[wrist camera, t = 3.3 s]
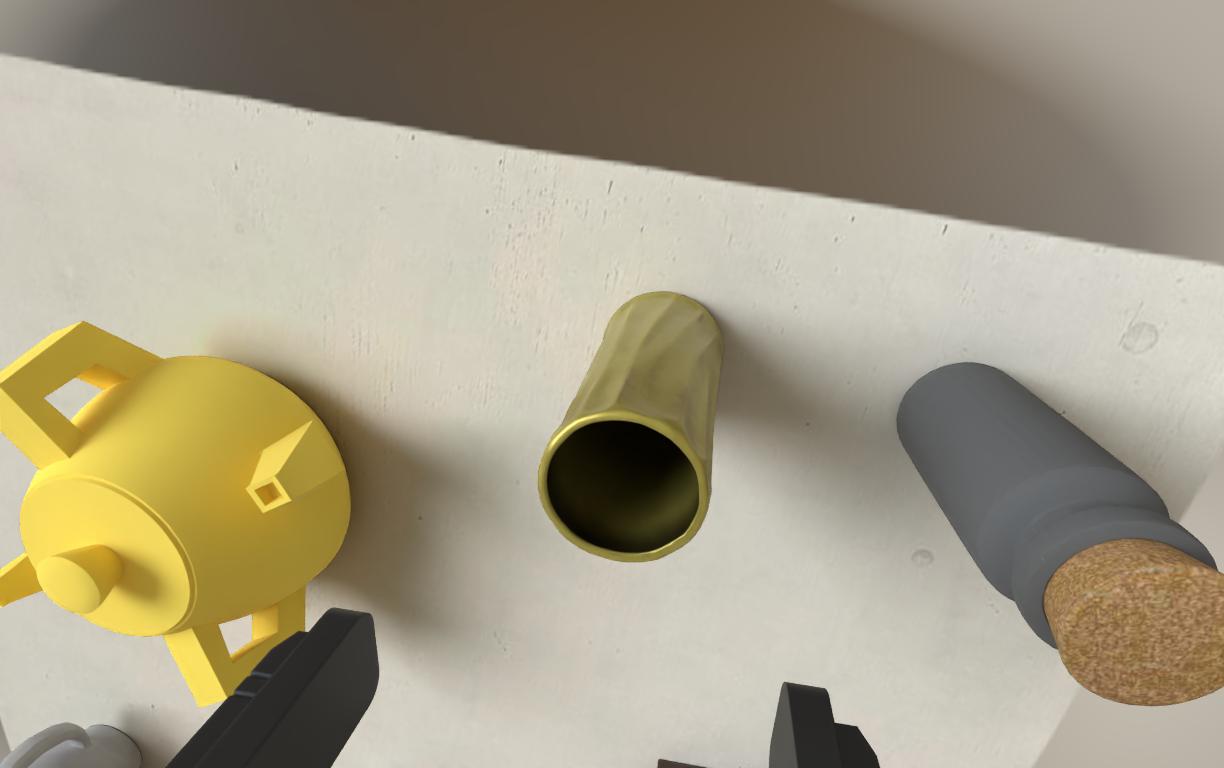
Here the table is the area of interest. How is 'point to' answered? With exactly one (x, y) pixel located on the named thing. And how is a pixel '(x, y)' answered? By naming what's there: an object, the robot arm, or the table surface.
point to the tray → (673, 765)
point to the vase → (639, 434)
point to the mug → (75, 749)
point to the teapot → (172, 499)
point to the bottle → (1069, 537)
